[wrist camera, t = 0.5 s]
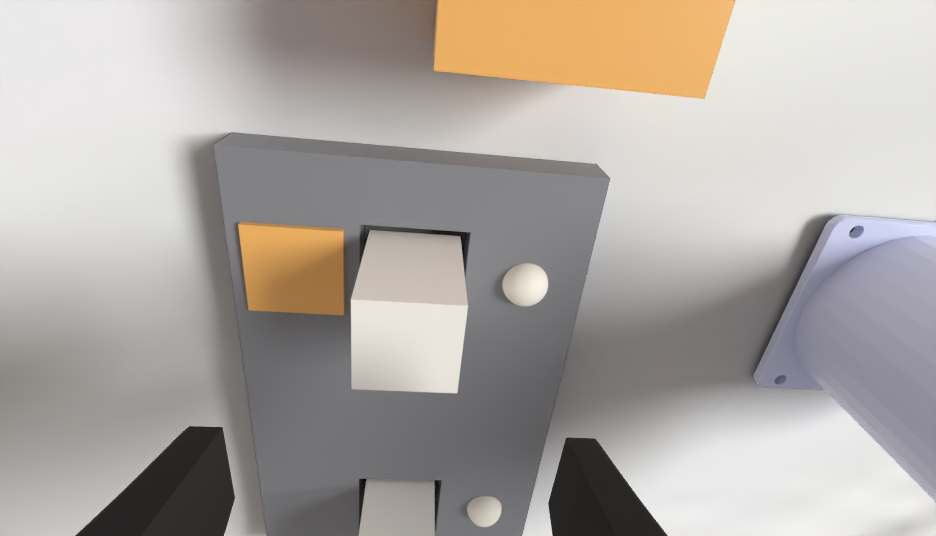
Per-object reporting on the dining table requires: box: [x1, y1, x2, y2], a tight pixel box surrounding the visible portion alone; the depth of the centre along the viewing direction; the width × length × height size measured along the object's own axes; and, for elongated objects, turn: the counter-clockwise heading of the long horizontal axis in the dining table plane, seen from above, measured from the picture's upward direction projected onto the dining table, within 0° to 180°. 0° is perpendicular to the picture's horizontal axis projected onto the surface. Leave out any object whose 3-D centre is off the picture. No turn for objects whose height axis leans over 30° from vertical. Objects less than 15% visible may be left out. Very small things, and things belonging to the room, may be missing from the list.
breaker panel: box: [214, 133, 610, 536], centre depth 20 cm, size 12×20×2 cm, turn 174°
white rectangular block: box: [351, 230, 468, 393], centre depth 15 cm, size 3×3×4 cm
